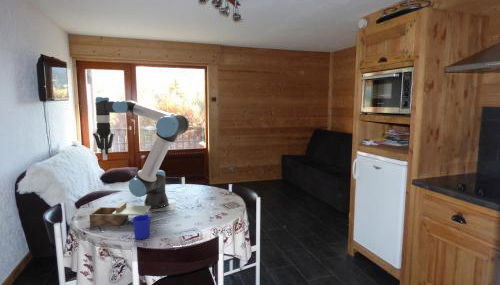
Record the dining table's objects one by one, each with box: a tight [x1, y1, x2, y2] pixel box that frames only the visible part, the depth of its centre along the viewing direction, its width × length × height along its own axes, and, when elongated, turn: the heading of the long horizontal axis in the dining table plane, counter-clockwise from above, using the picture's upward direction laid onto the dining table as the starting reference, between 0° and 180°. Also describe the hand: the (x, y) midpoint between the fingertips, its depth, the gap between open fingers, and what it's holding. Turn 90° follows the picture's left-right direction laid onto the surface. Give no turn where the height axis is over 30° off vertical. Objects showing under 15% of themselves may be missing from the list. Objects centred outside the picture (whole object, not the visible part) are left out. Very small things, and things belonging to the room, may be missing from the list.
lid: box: [112, 202, 152, 216], centre depth 168 cm, size 17×13×3 cm
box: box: [89, 206, 130, 227], centre depth 168 cm, size 16×12×6 cm
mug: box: [132, 213, 151, 240], centre depth 151 cm, size 8×12×10 cm
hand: (105, 159), depth 189 cm, fingers closed
